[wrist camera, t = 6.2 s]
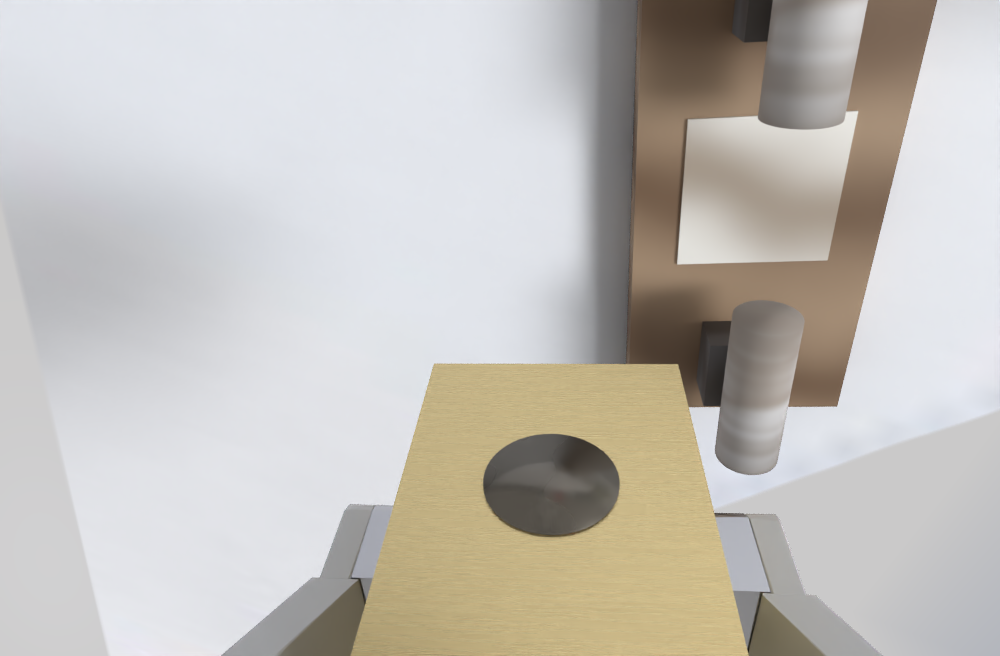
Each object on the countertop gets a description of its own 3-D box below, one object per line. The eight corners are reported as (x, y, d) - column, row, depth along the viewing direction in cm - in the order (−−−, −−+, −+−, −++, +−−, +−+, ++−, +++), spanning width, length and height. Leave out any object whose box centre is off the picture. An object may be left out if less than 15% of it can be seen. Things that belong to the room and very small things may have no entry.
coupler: (434, 361, 13) (345, 667, 8) (678, 362, 12) (756, 686, 7) (458, 544, 15) (405, 859, 10) (659, 550, 15) (706, 883, 10)
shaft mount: (641, -125, 21) (664, -132, 16) (949, -153, 20) (1070, -168, 15) (625, 387, 32) (635, 474, 27) (826, 385, 31) (874, 475, 26)
